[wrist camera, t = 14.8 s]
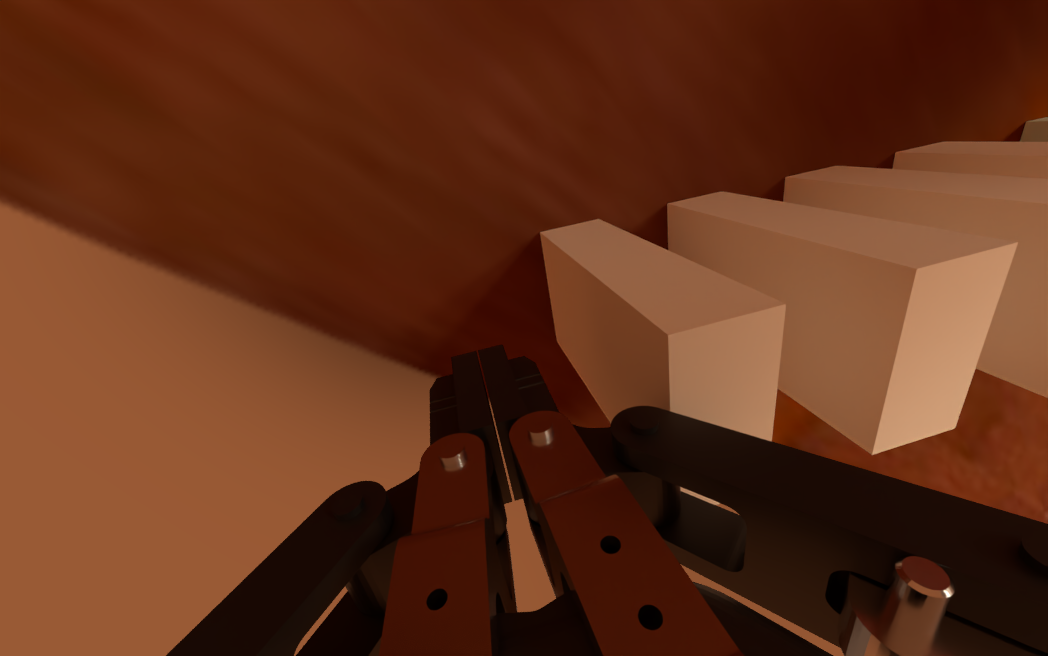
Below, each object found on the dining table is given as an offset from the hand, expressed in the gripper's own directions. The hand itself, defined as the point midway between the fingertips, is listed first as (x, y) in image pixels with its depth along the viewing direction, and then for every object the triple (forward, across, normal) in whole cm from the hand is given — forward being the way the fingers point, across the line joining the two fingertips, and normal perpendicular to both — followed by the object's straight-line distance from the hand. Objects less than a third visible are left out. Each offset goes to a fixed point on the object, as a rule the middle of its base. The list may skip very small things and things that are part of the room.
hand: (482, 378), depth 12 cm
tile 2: (+6, -10, 0) cm, 12 cm away
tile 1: (+6, -5, 0) cm, 8 cm away
